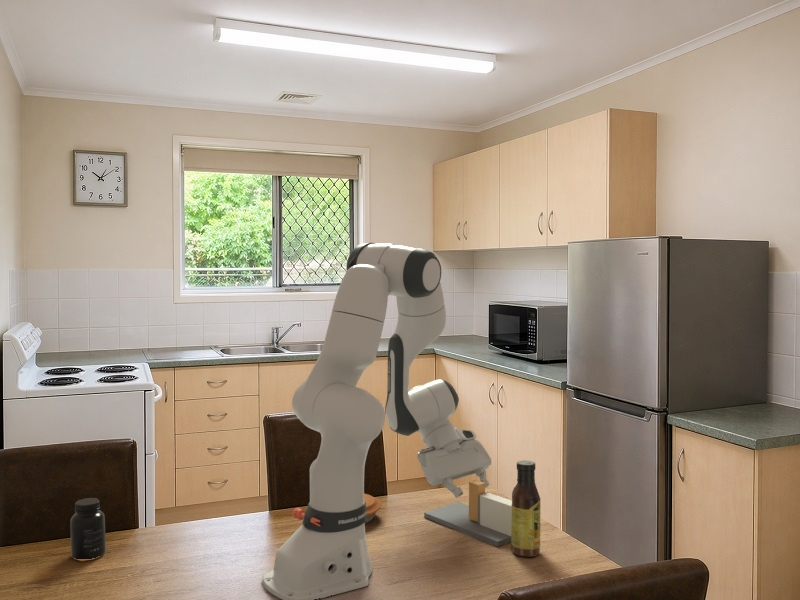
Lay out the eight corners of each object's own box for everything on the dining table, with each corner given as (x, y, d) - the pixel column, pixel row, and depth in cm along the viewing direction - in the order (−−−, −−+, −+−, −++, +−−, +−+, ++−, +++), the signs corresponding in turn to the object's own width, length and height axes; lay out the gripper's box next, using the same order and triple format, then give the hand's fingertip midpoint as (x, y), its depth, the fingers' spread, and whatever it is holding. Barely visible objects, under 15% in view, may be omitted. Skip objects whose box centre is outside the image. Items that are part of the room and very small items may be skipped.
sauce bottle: (540, 559, 146) (541, 468, 145) (510, 557, 148) (511, 466, 147) (540, 547, 153) (540, 459, 152) (511, 545, 154) (512, 457, 153)
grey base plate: (498, 546, 153) (498, 510, 153) (424, 517, 171) (424, 484, 171) (531, 532, 161) (531, 498, 161) (457, 506, 179) (457, 475, 179)
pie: (306, 519, 170) (305, 500, 170) (350, 503, 182) (350, 484, 181) (350, 535, 160) (350, 514, 160) (394, 517, 172) (394, 497, 171)
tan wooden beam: (478, 522, 164) (478, 485, 163) (468, 518, 166) (468, 482, 166) (484, 519, 165) (485, 482, 165) (475, 516, 168) (475, 479, 167)
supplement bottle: (66, 555, 149) (64, 501, 148) (97, 546, 154) (96, 493, 153) (79, 565, 144) (77, 509, 143) (111, 555, 149) (110, 501, 148)
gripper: (420, 444, 165) (449, 494, 158) (477, 430, 178) (507, 475, 171) (408, 458, 168) (436, 508, 161) (465, 443, 182) (493, 489, 175)
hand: (473, 491), depth 166 cm, fingers open, 8 cm apart
